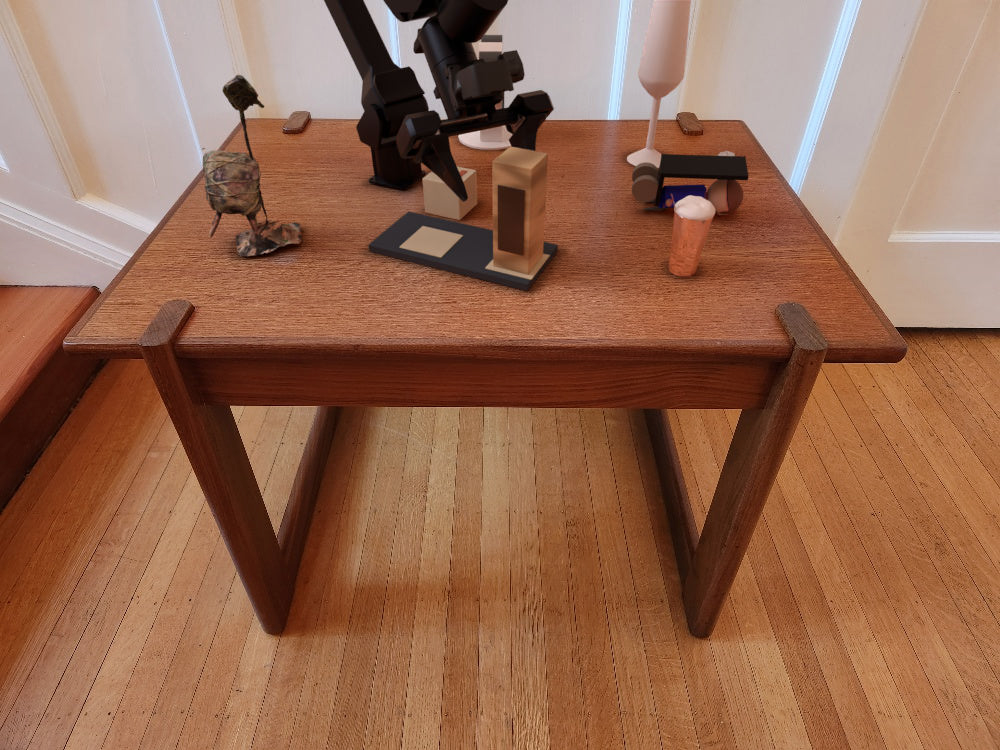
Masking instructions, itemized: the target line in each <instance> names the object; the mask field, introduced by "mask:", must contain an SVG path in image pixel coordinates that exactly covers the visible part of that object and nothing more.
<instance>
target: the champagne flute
mask: <svg viewBox="0 0 1000 750" xmlns="http://www.w3.org/2000/svg"><path fill="white" fill-rule="evenodd" d="M691 2H692V0H653V2H652V7H651V12H650V16H649V21H648V25H647V28H646V29H647V30H646V34H645V39H644V44H643V48H642V53H641V57H640V62H639V66H638V71H637V76H638V79H639V82H640V84H641V86H642V87H643V89H644V90H645V91H646V93H647V94H648V95H649V96H650V97H651V98H652V103H651V111H650V117H649V124H648V130H647V137H646V143H645V144H646V145H645V147H644V148H642V149H639V150H637V151H634V152H632V153H630V154H629V155H627V157H626V161H627V162H628V163H629V164H631V165H632V166H635V167H636V166H637V165H638V164H640V163H645V162H647V163H652V164H654V165H655V166H656V167H657V169H659V166H660V161H661V154H662V153H661V152H659V151H658V150H656V149H655V148H654V145H655V139H656V133H657V126H658V121H659V116H660V115H659V114H660V107H661V103H662V102H661V101H662V98H665V97H666V96H668V95H669V94H670V93H672V92H673V91H674V90H675V89H676V88H677V87H678V86H679V85H681V83H682V81H683V80H684V78H685V72H686V71H685V70H686V60H687V59H686V58H687V49H688V48H687V47H688V37H689V27H690V26H689V24H690V14H691V4H692V3H691Z"/></svg>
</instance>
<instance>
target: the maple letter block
mask: <svg viewBox="0 0 1000 750" xmlns="http://www.w3.org/2000/svg"><path fill="white" fill-rule="evenodd" d="M548 160H549V153H548V152H543V151H538V150H536V151H532V150H527V149H521V148H516V147H509V148H507V149H504V151H503V152H502V153H501V154H500V155H498V156H497V157H496V158H494V159H493V160H492V162H491V163H492V165H491V167H492V169H491V170H492V230H493V266H495V267H499V268H503V269H507V270H511V271H515V272H519V273H523V274H527V275H528V274H529V273H530V272H531V271H532V269H533V268H534V267H535V266H536V264H537V263H538V262H539V261H540V260H541V258H542V257H543V244H544V242H545V223H546V222H545V221H546V202H547V181H548Z"/></svg>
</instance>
